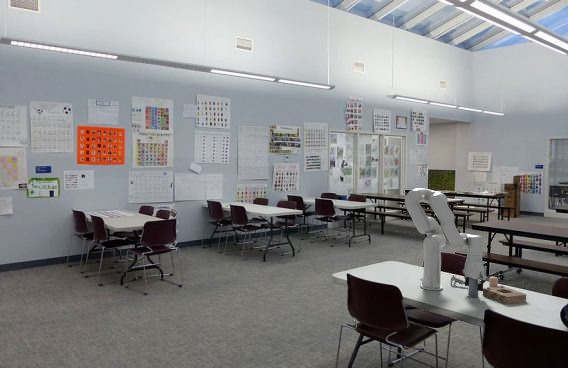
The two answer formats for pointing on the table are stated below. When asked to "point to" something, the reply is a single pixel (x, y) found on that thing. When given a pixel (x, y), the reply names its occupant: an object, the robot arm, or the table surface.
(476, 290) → the sleeve
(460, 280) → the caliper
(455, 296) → the table surface
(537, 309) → the table surface
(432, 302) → the table surface
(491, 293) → the jig
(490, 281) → the terracotta sleeve
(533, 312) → the table surface
